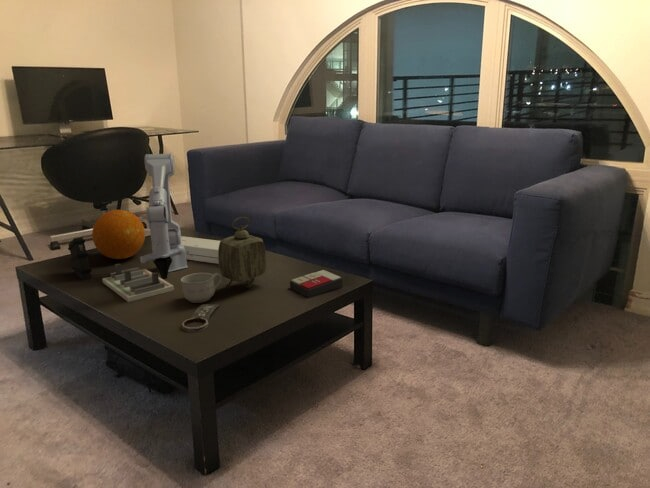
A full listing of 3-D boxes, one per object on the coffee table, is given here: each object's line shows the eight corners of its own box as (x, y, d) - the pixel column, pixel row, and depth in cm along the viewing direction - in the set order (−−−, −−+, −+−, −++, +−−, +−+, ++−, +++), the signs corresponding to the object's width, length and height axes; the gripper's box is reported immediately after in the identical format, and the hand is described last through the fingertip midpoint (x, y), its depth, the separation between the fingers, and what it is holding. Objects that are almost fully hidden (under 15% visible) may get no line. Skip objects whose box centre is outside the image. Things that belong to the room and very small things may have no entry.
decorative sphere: (100, 269, 211) (93, 218, 205) (92, 255, 227) (85, 208, 222) (152, 260, 220) (147, 212, 215) (141, 248, 237) (136, 202, 231)
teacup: (187, 308, 173) (184, 284, 171) (179, 297, 182) (176, 274, 180) (229, 300, 179) (227, 277, 177) (219, 289, 189) (218, 267, 186)
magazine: (83, 278, 196) (73, 238, 197) (76, 284, 207) (66, 246, 207) (94, 276, 198) (84, 236, 199) (86, 282, 209) (76, 244, 210)
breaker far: (121, 275, 198) (119, 263, 197) (122, 277, 197) (121, 264, 195) (115, 277, 197) (113, 264, 195) (117, 278, 196) (115, 265, 194)
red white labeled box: (289, 279, 188) (323, 267, 197) (289, 290, 190) (324, 278, 198) (307, 288, 180) (342, 275, 188) (308, 300, 181) (343, 287, 190)
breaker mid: (130, 282, 191) (129, 269, 190) (132, 283, 190) (130, 270, 189) (125, 283, 190) (123, 270, 189) (126, 285, 189) (125, 271, 188)
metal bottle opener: (224, 307, 175) (224, 301, 174) (203, 334, 157) (203, 327, 156) (201, 306, 176) (200, 300, 175) (177, 332, 158) (177, 326, 157)
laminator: (165, 257, 226) (163, 242, 224) (183, 248, 236) (182, 235, 235) (235, 267, 213) (234, 251, 211) (251, 257, 223) (250, 243, 222)
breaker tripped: (157, 285, 189) (156, 272, 187) (159, 286, 187) (158, 273, 186) (152, 286, 187) (150, 273, 186) (154, 287, 186) (152, 274, 185)
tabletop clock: (253, 278, 199) (250, 211, 192) (269, 284, 192) (266, 215, 185) (220, 289, 189) (215, 218, 182) (235, 296, 183) (231, 223, 176)
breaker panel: (145, 272, 206) (144, 265, 205) (173, 289, 189) (173, 281, 188) (102, 282, 196) (101, 274, 196) (128, 301, 179) (127, 293, 178)
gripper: (144, 247, 177) (148, 286, 181) (185, 238, 186) (188, 276, 190) (135, 242, 182) (140, 280, 186) (176, 234, 191) (179, 271, 195)
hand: (164, 278), depth 189 cm, fingers closed
